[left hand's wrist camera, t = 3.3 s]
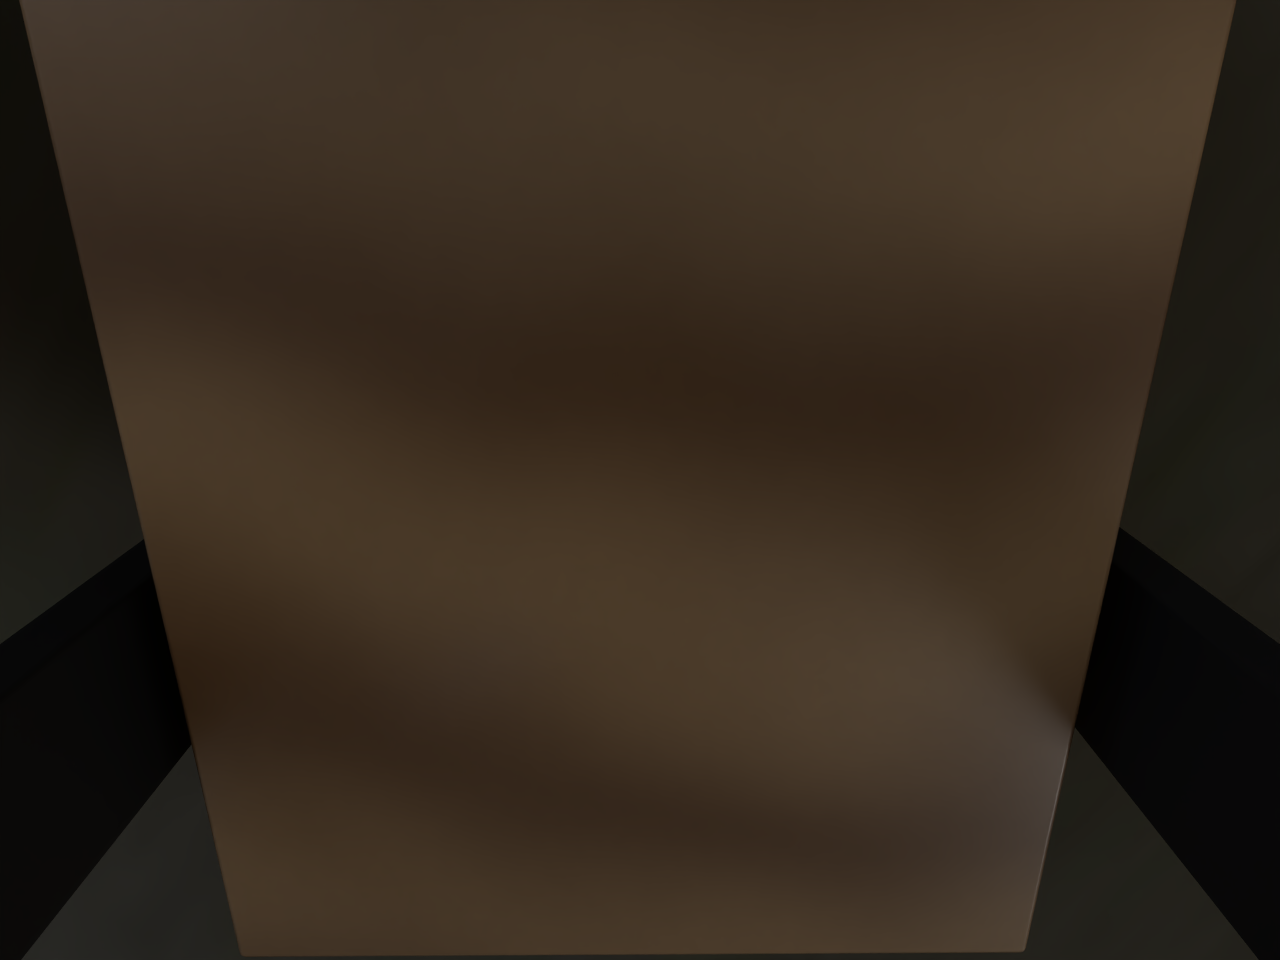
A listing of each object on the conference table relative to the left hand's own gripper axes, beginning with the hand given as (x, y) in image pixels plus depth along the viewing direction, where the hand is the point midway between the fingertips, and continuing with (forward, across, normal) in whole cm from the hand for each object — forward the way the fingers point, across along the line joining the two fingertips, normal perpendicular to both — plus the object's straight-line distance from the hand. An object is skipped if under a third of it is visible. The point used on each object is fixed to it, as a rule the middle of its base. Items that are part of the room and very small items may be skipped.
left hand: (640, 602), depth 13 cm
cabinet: (+6, 0, -5) cm, 8 cm away
